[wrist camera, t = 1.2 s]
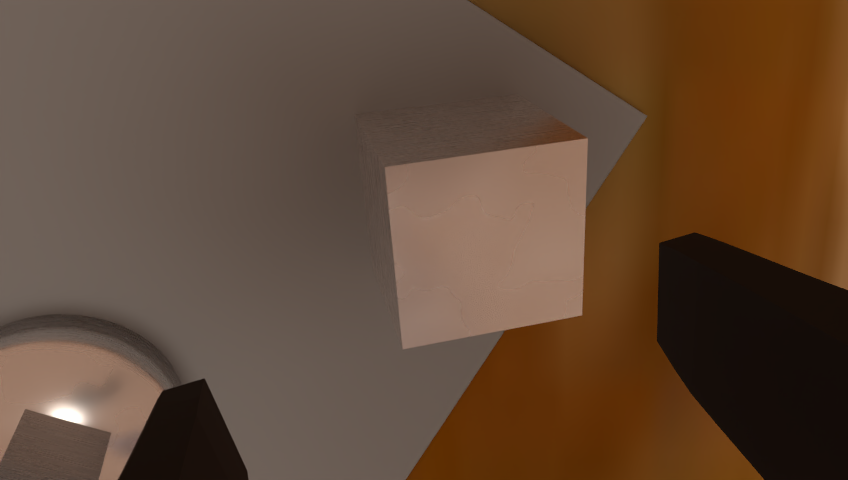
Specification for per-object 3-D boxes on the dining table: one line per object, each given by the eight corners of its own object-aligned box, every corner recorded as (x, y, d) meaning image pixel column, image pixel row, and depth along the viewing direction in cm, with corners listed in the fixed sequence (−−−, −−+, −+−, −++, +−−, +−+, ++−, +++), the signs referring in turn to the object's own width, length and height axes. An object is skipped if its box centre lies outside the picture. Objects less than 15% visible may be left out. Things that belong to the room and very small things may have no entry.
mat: (642, 113, 23) (647, 116, 22) (307, 620, 29) (307, 626, 28) (-692, -745, 11) (-716, -763, 11) (-791, 407, 17) (-808, 415, 17)
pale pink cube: (516, 93, 21) (587, 138, 17) (518, 241, 23) (582, 315, 19) (354, 114, 20) (384, 167, 16) (371, 265, 22) (402, 349, 18)
